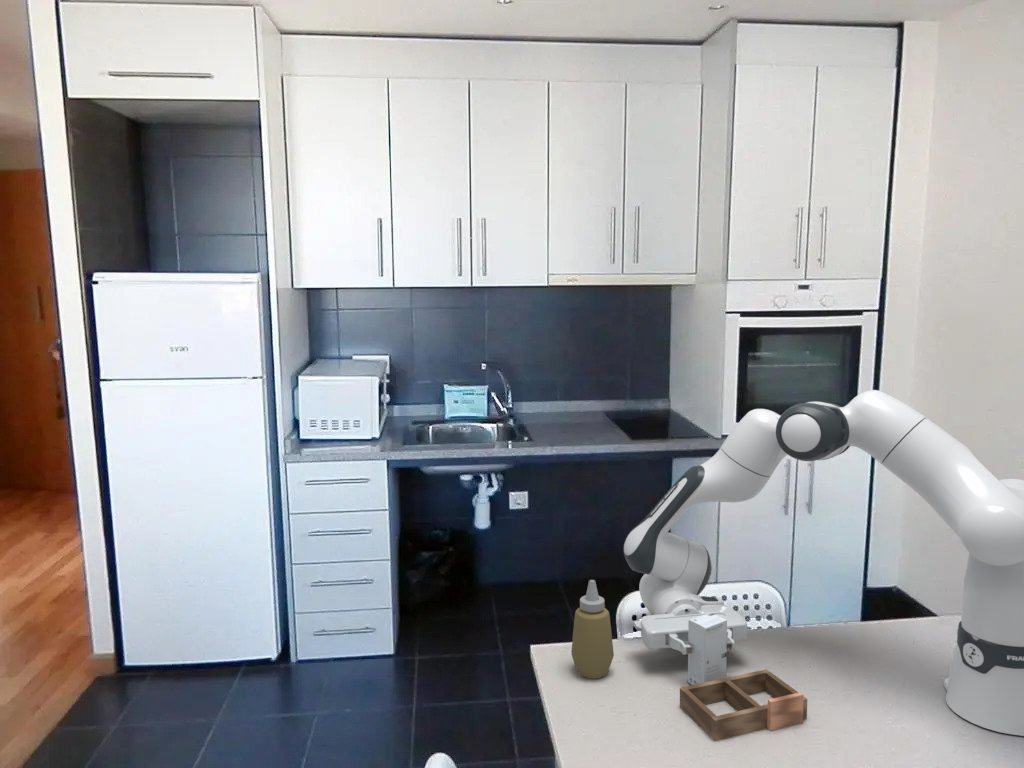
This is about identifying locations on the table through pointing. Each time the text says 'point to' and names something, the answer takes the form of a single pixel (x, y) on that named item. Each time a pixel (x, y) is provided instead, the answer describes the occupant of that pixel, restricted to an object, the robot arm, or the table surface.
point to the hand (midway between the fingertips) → (709, 648)
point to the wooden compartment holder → (744, 704)
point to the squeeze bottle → (592, 635)
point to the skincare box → (707, 648)
